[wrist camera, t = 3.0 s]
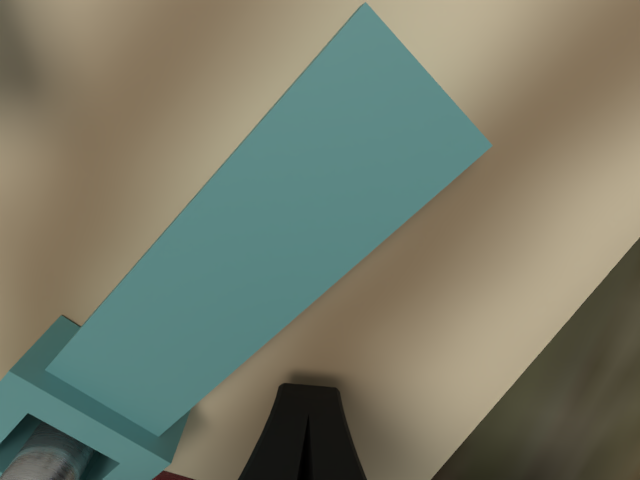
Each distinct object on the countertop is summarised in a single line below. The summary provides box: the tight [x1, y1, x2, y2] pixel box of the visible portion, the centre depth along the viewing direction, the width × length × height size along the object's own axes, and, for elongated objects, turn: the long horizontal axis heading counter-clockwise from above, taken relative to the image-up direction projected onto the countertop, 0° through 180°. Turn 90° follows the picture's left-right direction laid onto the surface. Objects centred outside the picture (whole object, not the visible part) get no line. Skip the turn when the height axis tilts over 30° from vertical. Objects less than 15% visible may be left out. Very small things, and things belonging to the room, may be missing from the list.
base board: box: [0, 0, 640, 480], centre depth 9 cm, size 20×15×1 cm
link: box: [0, 2, 493, 480], centre depth 9 cm, size 13×4×2 cm, turn 137°
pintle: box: [0, 421, 95, 480], centre depth 10 cm, size 1×1×3 cm
